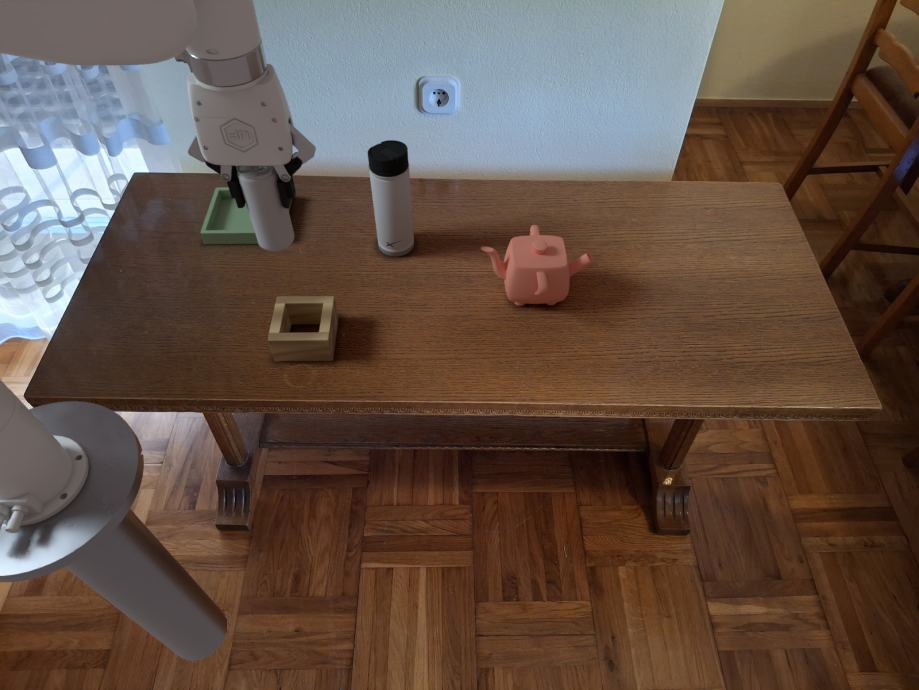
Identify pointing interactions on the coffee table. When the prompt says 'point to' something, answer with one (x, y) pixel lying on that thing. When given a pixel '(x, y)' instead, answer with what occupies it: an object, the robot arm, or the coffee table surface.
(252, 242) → the tray
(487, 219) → the coffee table surface
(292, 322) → the holder
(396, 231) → the travel mug
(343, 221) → the coffee table surface
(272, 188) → the beverage can
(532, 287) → the teapot
